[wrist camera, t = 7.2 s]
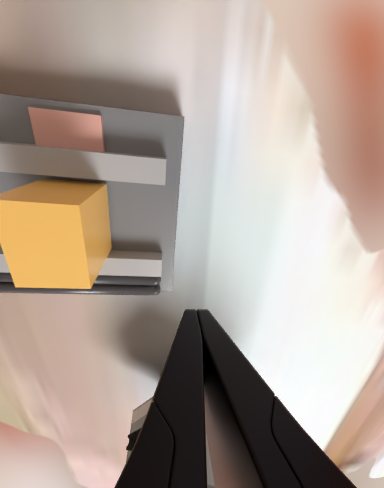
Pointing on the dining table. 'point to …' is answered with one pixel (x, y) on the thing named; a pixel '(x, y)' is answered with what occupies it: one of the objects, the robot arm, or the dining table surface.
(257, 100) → the dining table surface
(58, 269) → the toggle
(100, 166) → the panel
